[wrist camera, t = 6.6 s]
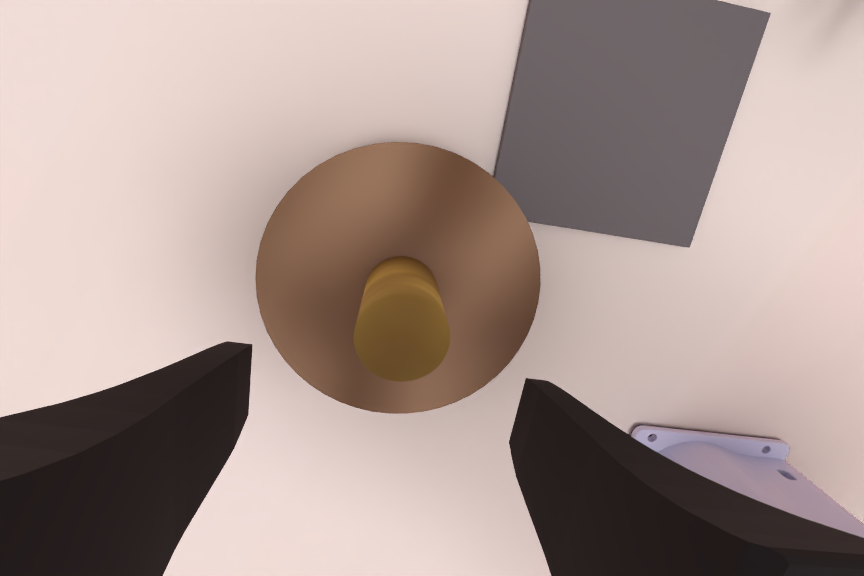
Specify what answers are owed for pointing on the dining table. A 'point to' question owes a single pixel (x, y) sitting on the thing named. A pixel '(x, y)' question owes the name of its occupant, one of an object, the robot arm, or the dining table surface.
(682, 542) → the robot arm
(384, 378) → the lid
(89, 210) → the dining table surface
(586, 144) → the mat
